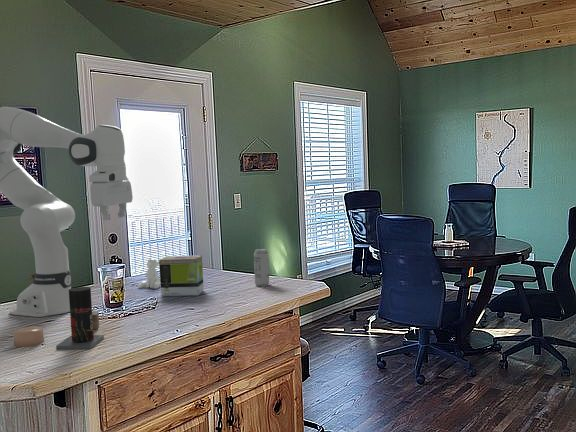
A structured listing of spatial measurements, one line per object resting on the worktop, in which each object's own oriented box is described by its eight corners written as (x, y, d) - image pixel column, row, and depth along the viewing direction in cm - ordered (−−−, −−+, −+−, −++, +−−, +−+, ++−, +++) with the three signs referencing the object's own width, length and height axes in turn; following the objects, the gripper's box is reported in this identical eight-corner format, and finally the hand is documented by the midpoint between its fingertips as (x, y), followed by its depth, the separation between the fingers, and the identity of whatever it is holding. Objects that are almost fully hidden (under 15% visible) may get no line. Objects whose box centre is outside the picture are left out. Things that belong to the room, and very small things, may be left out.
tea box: (204, 290, 235) (202, 254, 234) (197, 296, 225) (196, 258, 224) (168, 291, 237) (166, 255, 235) (160, 296, 227) (158, 259, 225)
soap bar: (40, 332, 167) (41, 346, 167) (45, 325, 174) (46, 338, 175) (10, 335, 165) (11, 349, 165) (16, 327, 172) (17, 341, 173)
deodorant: (93, 341, 166) (90, 290, 164) (71, 344, 164) (67, 292, 163) (94, 336, 171) (91, 286, 170) (72, 338, 170) (69, 287, 168)
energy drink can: (271, 285, 241) (270, 249, 239) (257, 287, 238) (256, 251, 237) (266, 283, 246) (265, 248, 245) (252, 284, 244) (251, 249, 243)
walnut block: (81, 331, 180) (80, 316, 180) (83, 327, 185) (82, 312, 185) (97, 330, 181) (96, 314, 181) (99, 326, 186) (98, 310, 186)
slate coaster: (56, 349, 163) (56, 345, 163) (71, 338, 173) (70, 335, 173) (91, 348, 162) (91, 345, 162) (104, 338, 172) (103, 334, 172)
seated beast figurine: (136, 288, 244) (135, 260, 242) (146, 284, 252) (145, 257, 251) (157, 289, 241) (156, 260, 240) (166, 284, 250) (165, 257, 249)
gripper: (119, 175, 196) (121, 215, 198) (85, 176, 177) (88, 221, 178) (136, 174, 195) (138, 215, 196) (104, 176, 175) (107, 221, 176)
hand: (114, 218), depth 187 cm, fingers open, 8 cm apart
